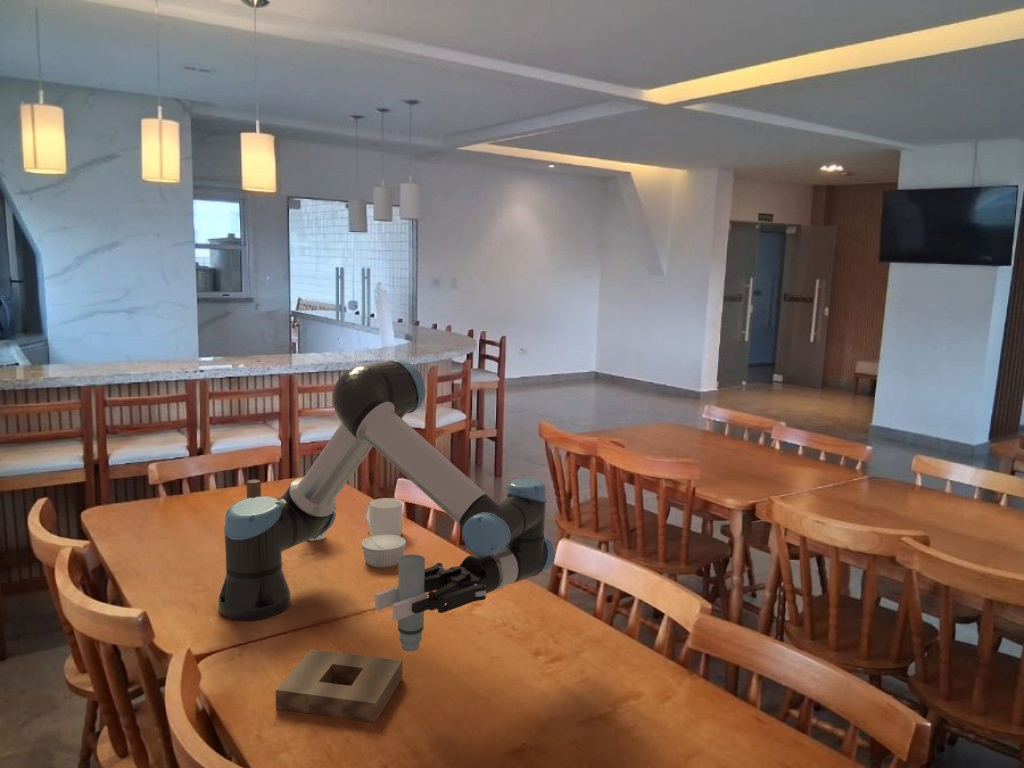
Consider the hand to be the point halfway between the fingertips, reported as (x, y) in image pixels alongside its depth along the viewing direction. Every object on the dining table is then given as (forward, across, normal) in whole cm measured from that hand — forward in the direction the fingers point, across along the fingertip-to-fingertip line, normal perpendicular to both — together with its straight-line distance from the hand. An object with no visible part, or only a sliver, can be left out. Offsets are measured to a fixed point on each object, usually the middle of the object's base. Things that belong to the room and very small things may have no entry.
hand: (385, 607), depth 124 cm
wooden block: (-18, +83, -20) cm, 87 cm away
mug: (-50, +72, -20) cm, 90 cm away
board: (+2, +11, -20) cm, 22 cm away
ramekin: (-39, +56, -20) cm, 71 cm away
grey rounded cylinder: (-5, 0, -9) cm, 10 cm away
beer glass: (-34, +81, -20) cm, 90 cm away
